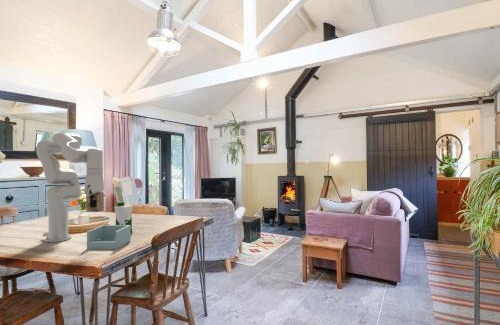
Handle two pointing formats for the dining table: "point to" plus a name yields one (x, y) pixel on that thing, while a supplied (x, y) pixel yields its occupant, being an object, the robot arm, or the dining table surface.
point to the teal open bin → (108, 236)
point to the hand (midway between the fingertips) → (95, 206)
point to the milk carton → (123, 214)
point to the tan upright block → (99, 202)
